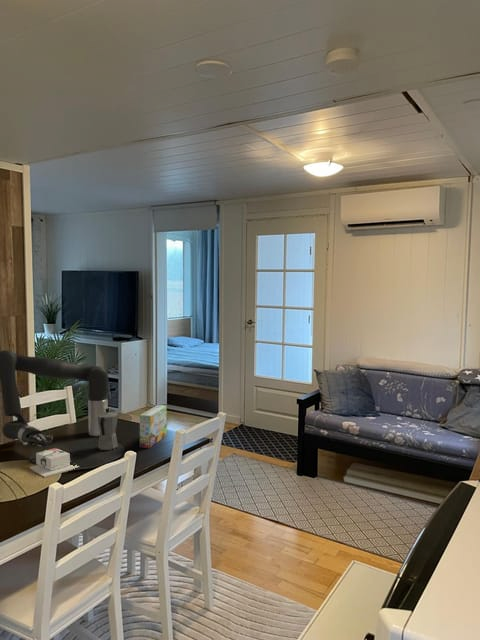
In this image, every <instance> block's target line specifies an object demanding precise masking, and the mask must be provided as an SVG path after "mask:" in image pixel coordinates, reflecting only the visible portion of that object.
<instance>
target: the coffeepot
mask: <svg viewBox="0 0 480 640" xmlns="http://www.w3.org/2000/svg"><path fill="white" fill-rule="evenodd" d="M118 417H119V414H118V413H117V412H113V411H110V408H107V409H106V412H105V413H101V414H98V415H97V418H98V424H99V430H100V435H99V436H98V443H97V449H98V448H102V449H111V448H115V447H118V448H119V445H118V443H119V442H118V439H117V434H116V429H117V427H118V426H117V425H118Z"/></svg>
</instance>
